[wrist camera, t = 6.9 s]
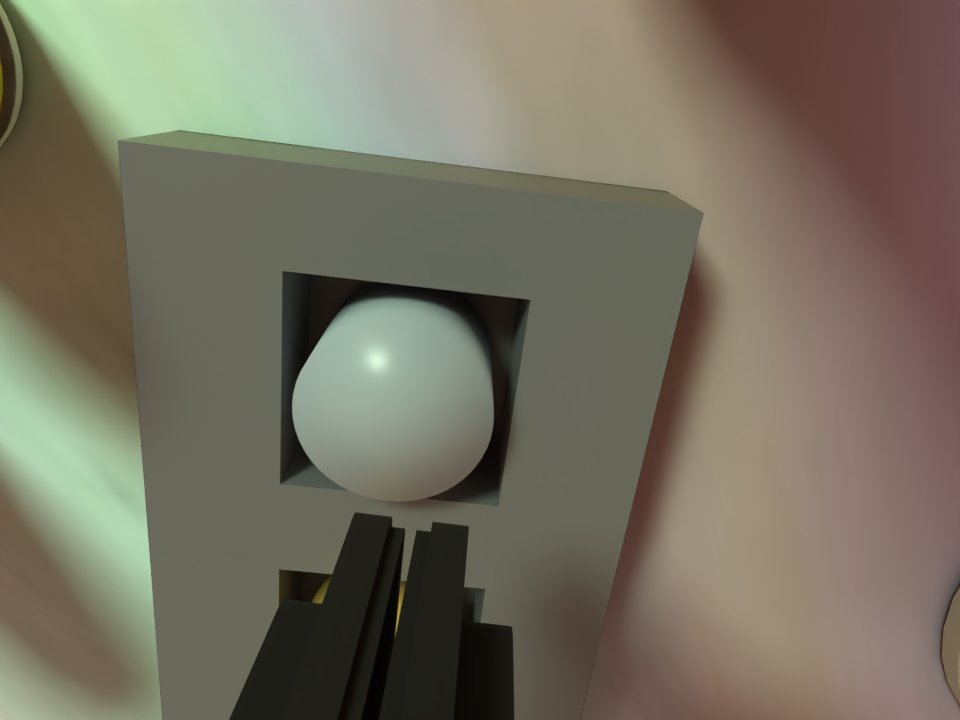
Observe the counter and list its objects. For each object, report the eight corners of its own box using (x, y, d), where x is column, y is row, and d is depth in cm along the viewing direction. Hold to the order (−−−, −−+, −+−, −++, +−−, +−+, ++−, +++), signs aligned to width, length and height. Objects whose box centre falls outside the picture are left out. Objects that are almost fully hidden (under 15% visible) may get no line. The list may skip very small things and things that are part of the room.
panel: (666, 191, 17) (703, 213, 14) (518, 859, 27) (523, 950, 24) (179, 130, 16) (117, 140, 14) (210, 836, 26) (178, 925, 23)
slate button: (501, 288, 17) (506, 334, 14) (480, 439, 19) (480, 511, 16) (327, 267, 17) (294, 309, 14) (322, 422, 19) (290, 491, 16)
